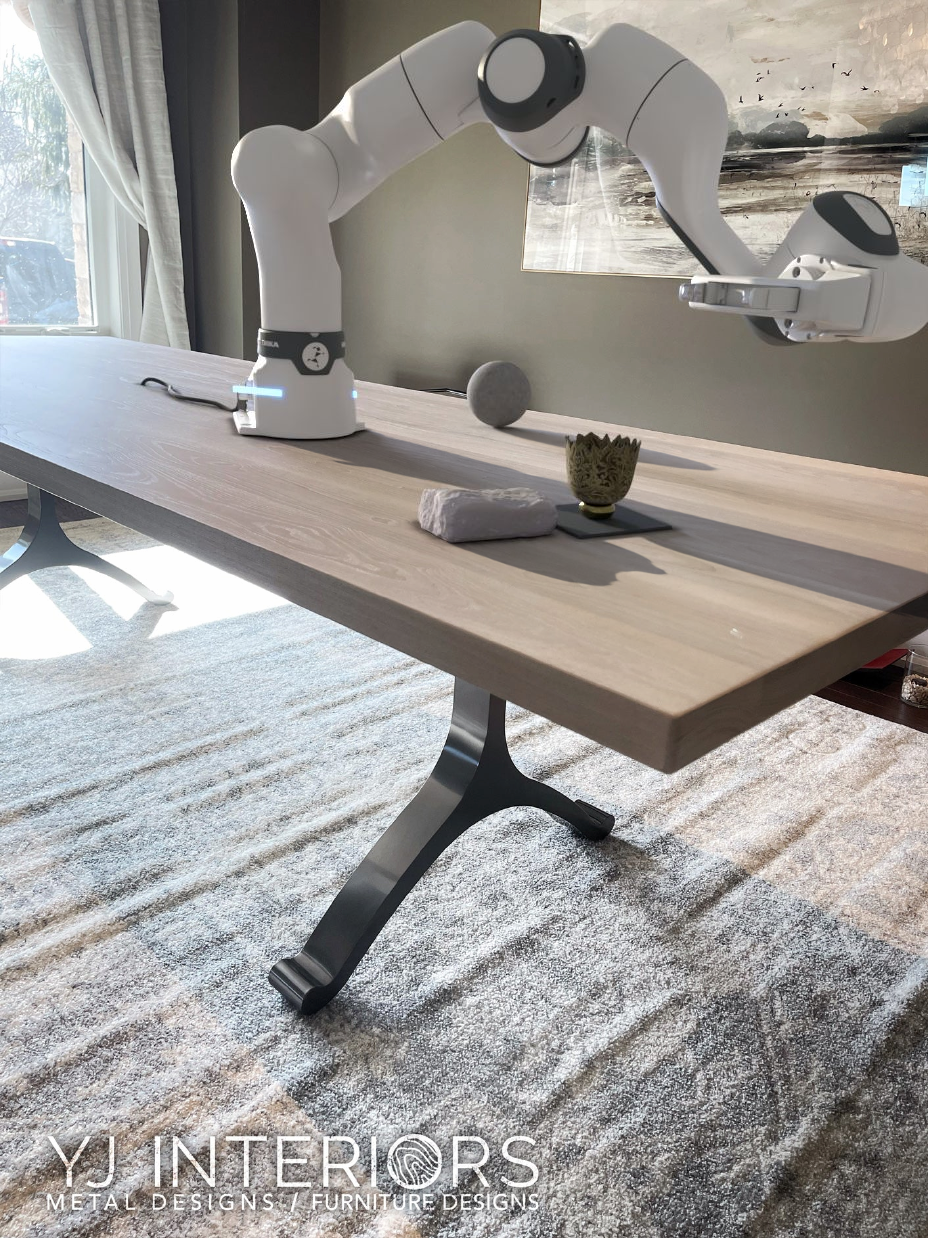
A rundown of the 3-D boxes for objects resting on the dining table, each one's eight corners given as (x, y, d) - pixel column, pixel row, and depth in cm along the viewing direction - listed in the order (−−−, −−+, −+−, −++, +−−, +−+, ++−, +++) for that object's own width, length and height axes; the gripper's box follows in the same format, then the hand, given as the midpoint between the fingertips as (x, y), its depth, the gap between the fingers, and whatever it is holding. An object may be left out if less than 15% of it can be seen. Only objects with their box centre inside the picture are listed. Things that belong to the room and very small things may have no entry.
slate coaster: (521, 510, 99) (521, 508, 99) (607, 503, 104) (608, 500, 103) (579, 538, 90) (580, 535, 90) (671, 528, 95) (672, 525, 94)
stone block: (409, 536, 94) (446, 543, 85) (408, 487, 93) (446, 489, 84) (516, 532, 99) (563, 539, 90) (516, 486, 98) (564, 488, 89)
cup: (590, 504, 102) (597, 429, 99) (647, 518, 97) (656, 439, 94) (544, 514, 97) (550, 435, 94) (602, 530, 92) (610, 447, 89)
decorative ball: (505, 419, 156) (509, 356, 152) (541, 429, 148) (545, 363, 144) (453, 422, 151) (456, 357, 147) (487, 433, 143) (491, 364, 139)
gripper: (751, 263, 108) (653, 258, 102) (901, 269, 91) (795, 263, 85) (742, 321, 110) (646, 319, 104) (887, 338, 93) (783, 336, 87)
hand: (714, 294), depth 94 cm, fingers open, 8 cm apart
